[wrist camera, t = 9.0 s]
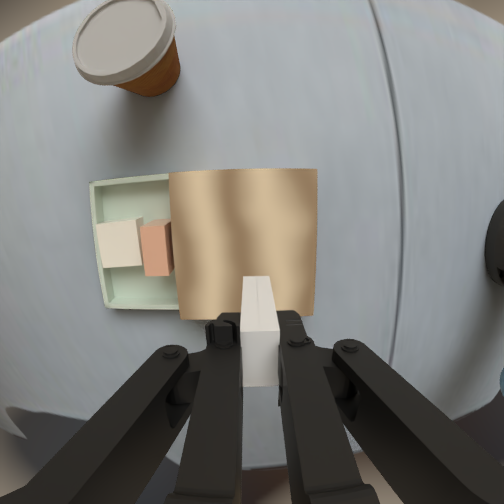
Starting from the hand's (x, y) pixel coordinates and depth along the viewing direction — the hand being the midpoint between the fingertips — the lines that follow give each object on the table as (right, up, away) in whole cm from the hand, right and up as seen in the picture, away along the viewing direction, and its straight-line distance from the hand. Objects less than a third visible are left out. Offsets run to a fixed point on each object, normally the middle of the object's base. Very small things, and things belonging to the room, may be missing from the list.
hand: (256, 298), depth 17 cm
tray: (-13, +4, +16) cm, 21 cm away
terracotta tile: (-9, +3, +13) cm, 16 cm away
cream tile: (-15, +3, +13) cm, 20 cm away
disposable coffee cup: (-12, +23, +11) cm, 28 cm away
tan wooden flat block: (-1, +4, +16) cm, 17 cm away
